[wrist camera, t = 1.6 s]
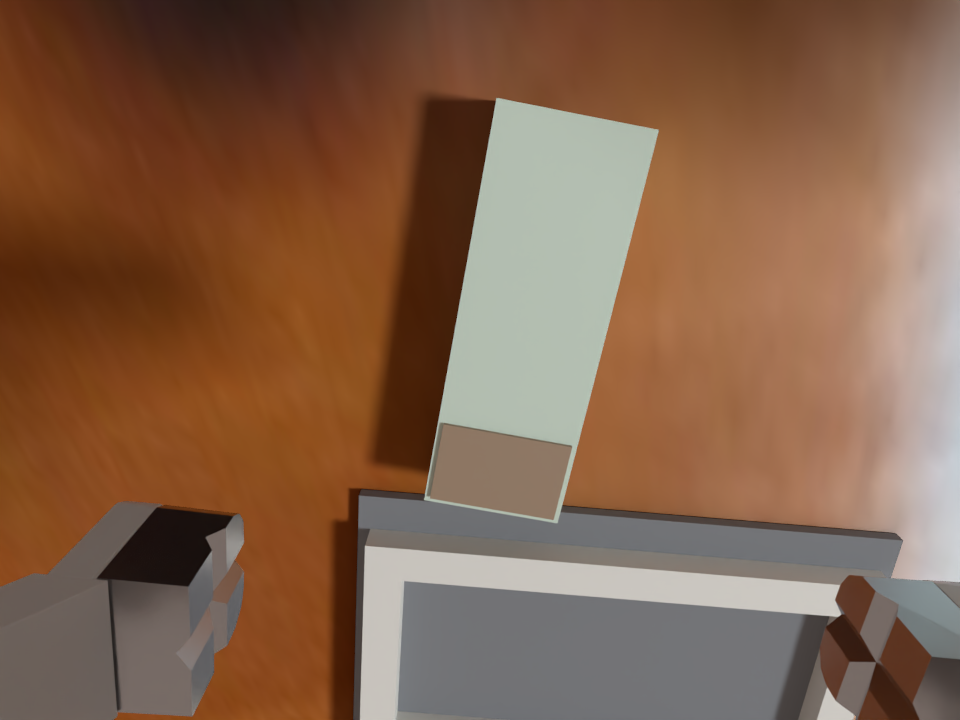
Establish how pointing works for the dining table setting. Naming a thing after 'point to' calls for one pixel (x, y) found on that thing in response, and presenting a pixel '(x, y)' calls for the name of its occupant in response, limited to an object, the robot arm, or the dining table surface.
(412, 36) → the dining table surface
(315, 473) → the dining table surface
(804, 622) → the picture frame
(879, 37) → the dining table surface
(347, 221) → the dining table surface
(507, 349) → the pale green rectangular block
